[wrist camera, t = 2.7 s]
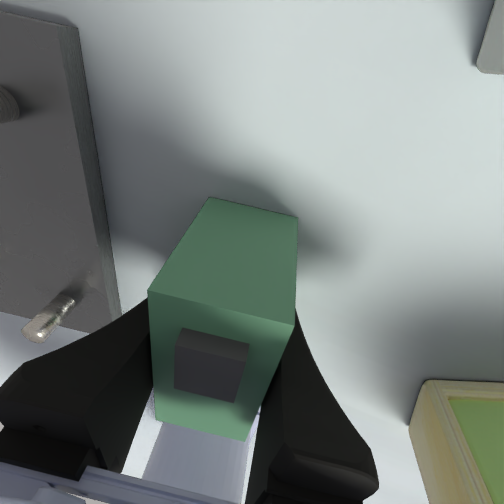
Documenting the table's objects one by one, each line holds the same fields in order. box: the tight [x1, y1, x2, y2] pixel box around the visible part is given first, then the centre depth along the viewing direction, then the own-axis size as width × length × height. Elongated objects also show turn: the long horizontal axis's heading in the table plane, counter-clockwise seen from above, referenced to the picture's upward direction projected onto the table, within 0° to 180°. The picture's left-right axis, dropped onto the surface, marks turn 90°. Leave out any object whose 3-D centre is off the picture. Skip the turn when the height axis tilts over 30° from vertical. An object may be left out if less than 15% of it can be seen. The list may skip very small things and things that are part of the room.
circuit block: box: [147, 197, 298, 442], centre depth 12 cm, size 8×4×7 cm, turn 170°
